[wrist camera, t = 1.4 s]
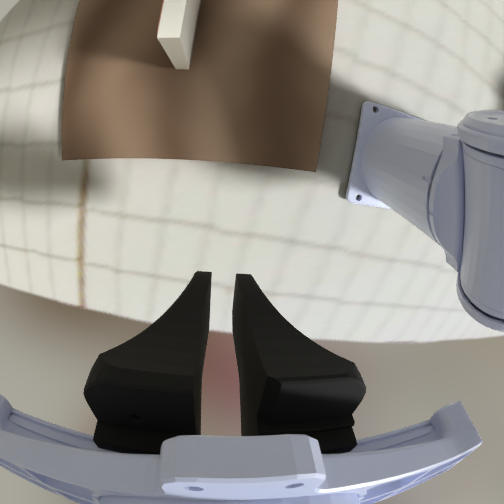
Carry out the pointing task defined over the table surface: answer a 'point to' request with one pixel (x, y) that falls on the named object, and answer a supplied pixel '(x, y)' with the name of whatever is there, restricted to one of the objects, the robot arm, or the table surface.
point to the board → (200, 83)
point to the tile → (178, 30)
